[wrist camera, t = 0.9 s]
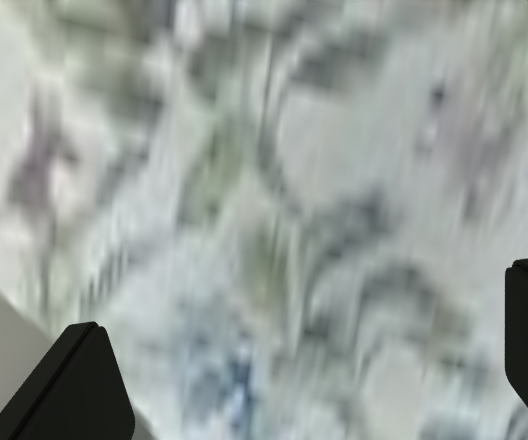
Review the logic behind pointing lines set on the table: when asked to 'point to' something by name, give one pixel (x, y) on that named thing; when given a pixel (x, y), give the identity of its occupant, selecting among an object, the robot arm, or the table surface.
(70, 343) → the robot arm
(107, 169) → the table surface
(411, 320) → the table surface
